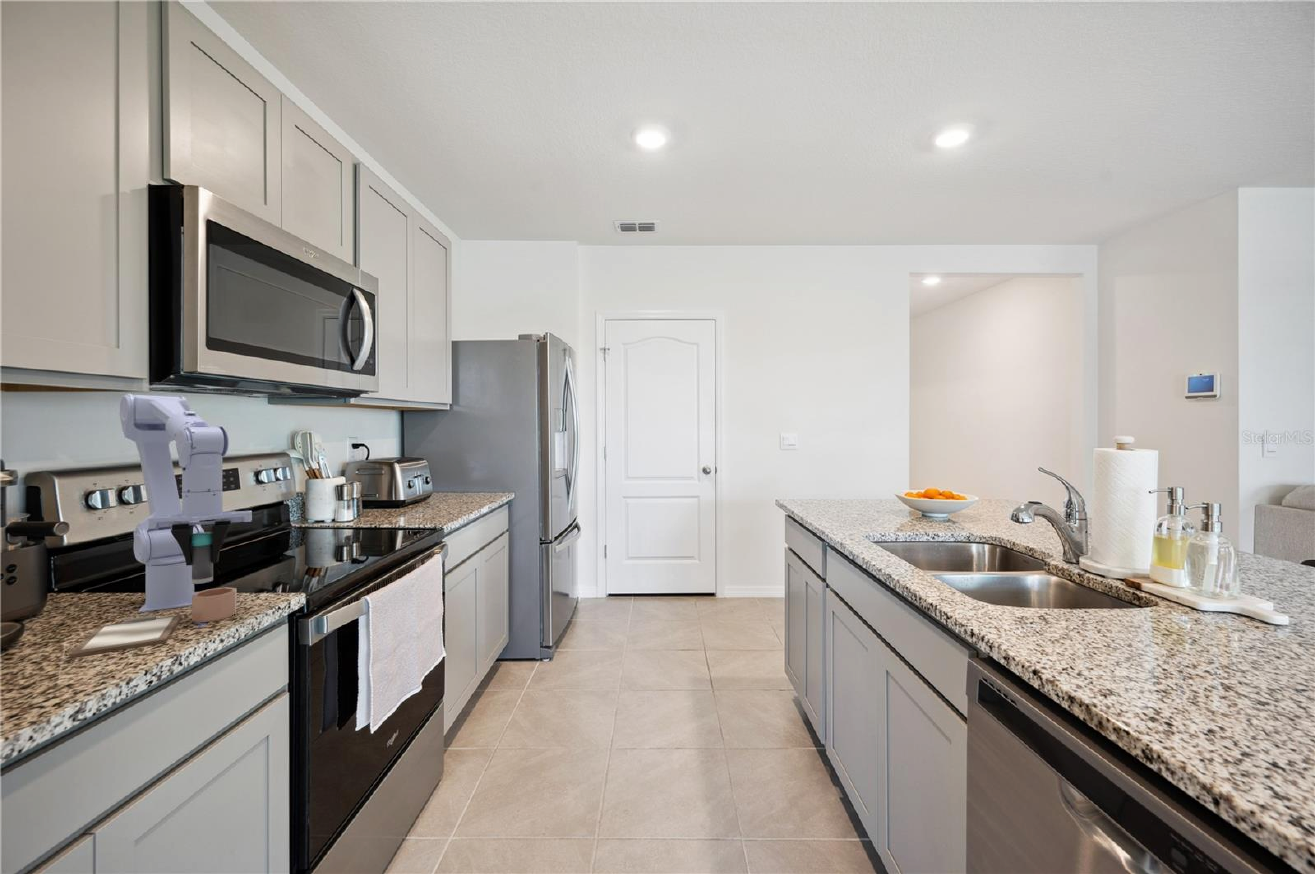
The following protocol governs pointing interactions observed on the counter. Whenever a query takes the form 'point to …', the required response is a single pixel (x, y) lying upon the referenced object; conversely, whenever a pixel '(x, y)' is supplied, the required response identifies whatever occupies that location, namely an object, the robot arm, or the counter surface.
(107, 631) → the picture frame
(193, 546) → the marker
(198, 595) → the terracotta pot
